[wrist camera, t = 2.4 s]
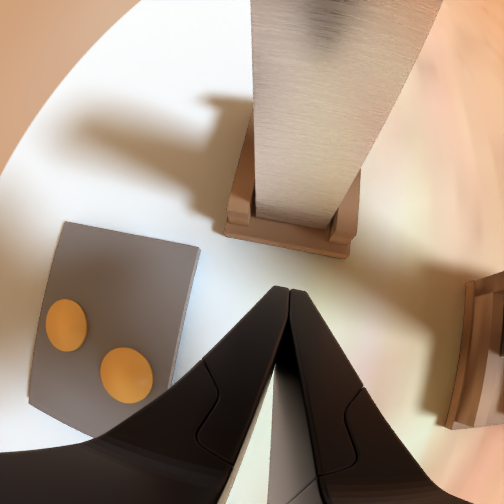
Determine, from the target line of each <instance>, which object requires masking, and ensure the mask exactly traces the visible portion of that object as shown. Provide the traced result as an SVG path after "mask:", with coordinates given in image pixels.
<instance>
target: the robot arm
mask: <svg viewBox="0 0 504 504" xmlns="http://www.w3.org/2000/svg"><path fill="white" fill-rule="evenodd" d="M274 367H275V369H274ZM273 370H274V384H273V408H272V429H271V449H270V467H269V484H268V499H267V504H473V503H470V502H468V501H465V500H463V499H460V498H458V497H455V496H453V495H451V494H448V493H447V492H445V491H443V490H442V489H441V488H439V487H438V486H437V485H436V484H435V483H434V482H433V481H432V480H431V479H430V478H429V477H428V476H427V475H426V473H425V472H424V471H423V469H422V468H421V467H420V465H419V464H418V463H417V461H416V460H415V459H414V458H413V456H412V455H411V454H410V452H409V451H408V450H407V448H406V447H405V446H404V444H403V443H402V442H401V440H400V439H399V438H398V436H397V435H396V434H395V432H394V431H393V430H392V428H391V427H390V425H389V424H388V423H387V421H386V420H385V418H384V417H383V415H382V414H381V412H380V411H379V409H378V407H377V406H376V404H375V403H374V401H373V400H372V398H371V396H370V395H369V393H368V391H367V390H366V388H365V387H363V383H362V381H361V380H360V378H359V376H358V375H357V373H356V372H355V370H354V368H353V367H352V365H351V363H350V362H349V360H348V358H347V357H346V355H345V353H344V352H343V350H342V348H341V347H340V345H339V344H338V342H337V340H336V339H335V337H334V335H333V334H332V332H331V331H330V329H329V327H328V326H327V324H326V322H325V321H324V319H323V318H322V316H321V314H320V313H319V311H318V310H317V308H316V306H315V305H314V303H313V302H312V300H311V298H310V297H309V295H308V294H307V292H305V291H302V290H296V289H291V290H290V291H289V289H288V288H285V287H280V286H273V287H272V288H271V289H270V290H269V291H268V292H267V293H266V294H265V295H264V296H263V297H262V298H261V299H260V300H259V301H258V302H257V303H256V304H255V306H254V307H253V308H252V309H251V310H250V311H249V312H248V313H247V314H246V315H245V316H244V317H243V318H242V319H241V320H240V321H239V322H238V323H237V324H236V325H235V326H234V327H233V328H232V329H231V330H230V331H229V332H228V333H227V334H226V335H225V336H224V337H223V338H222V339H221V340H220V341H219V342H218V343H217V344H216V345H215V346H214V347H213V348H212V349H211V350H210V351H209V352H208V353H207V354H206V355H205V356H204V357H203V358H202V360H200V361H199V362H198V363H197V364H196V365H195V366H194V367H193V368H192V369H191V370H190V371H188V372H187V373H186V374H185V375H184V376H183V377H182V378H181V379H180V380H178V381H177V382H176V383H175V384H174V385H173V386H171V387H170V388H169V389H167V390H166V391H165V392H163V393H162V394H161V395H160V396H158V397H157V398H156V399H154V400H153V401H151V402H150V403H148V404H147V405H146V406H144V407H143V408H141V409H140V410H138V411H137V412H135V413H134V414H133V415H131V416H130V417H128V418H127V419H125V420H124V421H122V422H121V423H119V424H118V425H116V426H115V427H113V428H112V429H110V430H109V431H107V432H105V433H104V434H102V435H100V436H98V437H96V438H93V439H91V440H89V441H85V442H82V443H78V444H73V445H67V446H60V447H53V448H45V449H37V450H27V451H16V452H1V453H0V504H225V503H226V501H227V498H228V496H229V493H230V491H231V488H232V486H233V483H234V481H235V478H236V476H237V473H238V470H239V468H240V465H241V462H242V460H243V457H244V454H245V452H246V449H247V446H248V444H249V441H250V438H251V435H252V433H253V430H254V427H255V424H256V421H257V418H258V416H259V413H260V410H261V407H262V404H263V401H264V398H265V395H266V392H267V389H268V386H269V383H270V380H271V377H272V374H273Z"/></svg>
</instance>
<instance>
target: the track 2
mask: <svg viewBox="0 0 504 504" xmlns="http://www.w3.org/2000/svg"><path fill="white" fill-rule="evenodd" d="M503 305H504V271H503V272H500V273H497V274H494V275H492V276H489V277H486V278H483V279H480V280H477V281H471V282H468V283H466V297H465V312H464V323H463V333H462V342H461V349H460V356H459V363H458V369H457V375H456V380H455V386H454V391H453V395H452V400H451V405H450V409H449V413H448V417H447V421H446V425H445V427H446V428H448V429H451V430H456V429H466V428H475V427H483V426H491V425H497V424H504V357H499V353H500V344H501V335H502V323H503Z"/></svg>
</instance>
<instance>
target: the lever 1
mask: <svg viewBox="0 0 504 504" xmlns="http://www.w3.org/2000/svg"><path fill="white" fill-rule="evenodd" d="M442 2H443V0H250V3H251V35H252V70H253V107H254V147H255V189H256V217H259V218H265V219H270V220H276V221H281V222H286V223H292V224H297V225H302V226H307V227H312V228H318V229H323V230H325V229H326V227H327V226H328V224H329V222H330V221H331V219H332V217H333V215H334V214H335V212H336V210H337V209H338V207H339V205H340V203H341V202H342V200H343V198H344V196H345V195H346V193H347V191H348V189H349V188H350V186H351V184H352V182H353V180H354V179H355V177H356V175H357V173H358V172H359V170H360V168H361V166H362V164H363V162H364V161H365V159H366V157H367V155H368V153H369V151H370V150H371V148H372V146H373V144H374V142H375V140H376V138H377V137H378V135H379V133H380V131H381V129H382V127H383V125H384V123H385V121H386V120H387V118H388V116H389V114H390V112H391V110H392V108H393V106H394V104H395V102H396V100H397V98H398V96H399V94H400V92H401V90H402V88H403V86H404V84H405V82H406V80H407V78H408V76H409V74H410V72H411V70H412V68H413V66H414V64H415V62H416V59H417V57H418V55H419V53H420V51H421V49H422V47H423V45H424V42H425V40H426V38H427V36H428V34H429V32H430V29H431V27H432V25H433V23H434V20H435V18H436V16H437V14H438V11H439V9H440V7H441V4H442Z"/></svg>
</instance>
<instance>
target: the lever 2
mask: <svg viewBox="0 0 504 504" xmlns="http://www.w3.org/2000/svg"><path fill="white" fill-rule="evenodd" d="M499 357H504V305H503V323H502V335H501V344H500V353H499Z"/></svg>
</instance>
